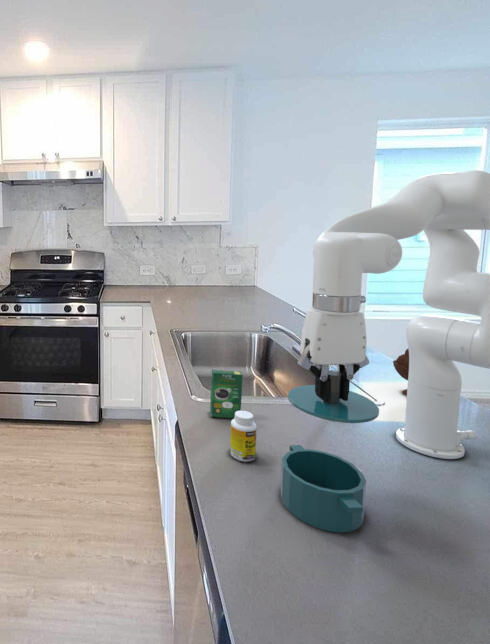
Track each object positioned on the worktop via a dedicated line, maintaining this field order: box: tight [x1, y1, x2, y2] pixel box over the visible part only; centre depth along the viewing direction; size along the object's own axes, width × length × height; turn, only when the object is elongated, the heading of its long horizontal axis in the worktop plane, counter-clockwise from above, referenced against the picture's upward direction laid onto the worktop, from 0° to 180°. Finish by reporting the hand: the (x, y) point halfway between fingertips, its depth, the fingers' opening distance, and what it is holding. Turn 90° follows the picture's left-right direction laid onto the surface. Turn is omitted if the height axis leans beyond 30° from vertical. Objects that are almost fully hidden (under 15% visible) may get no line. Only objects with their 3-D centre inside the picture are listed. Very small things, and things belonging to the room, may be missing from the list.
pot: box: [280, 444, 367, 533], centre depth 78 cm, size 14×19×8 cm
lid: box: [287, 369, 380, 424], centre depth 77 cm, size 15×15×7 cm
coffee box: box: [209, 369, 244, 420], centre depth 113 cm, size 8×3×13 cm, turn 79°
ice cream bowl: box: [392, 348, 409, 397], centre depth 124 cm, size 11×11×15 cm
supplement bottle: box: [229, 410, 257, 463], centre depth 94 cm, size 6×6×10 cm
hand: (331, 397), depth 77 cm, fingers closed on lid, 2 cm apart
